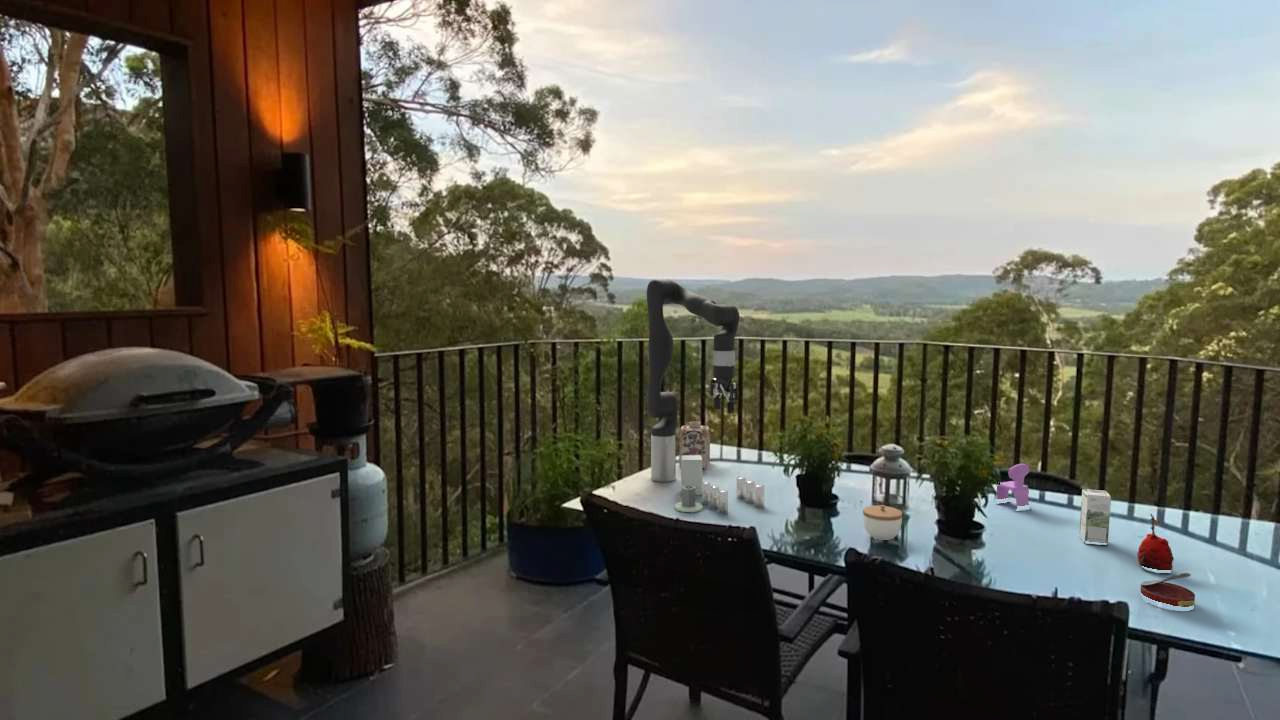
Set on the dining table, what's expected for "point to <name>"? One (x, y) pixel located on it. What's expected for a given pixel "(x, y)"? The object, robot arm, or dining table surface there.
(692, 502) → the grey upright block
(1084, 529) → the syrup box
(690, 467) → the supplement box
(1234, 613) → the dining table surface
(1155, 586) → the canned food
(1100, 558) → the dining table surface
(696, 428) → the decorative jar
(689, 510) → the saucer
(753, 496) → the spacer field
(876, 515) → the lidded jar
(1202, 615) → the dining table surface
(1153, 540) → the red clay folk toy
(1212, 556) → the dining table surface
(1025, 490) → the toy chair
